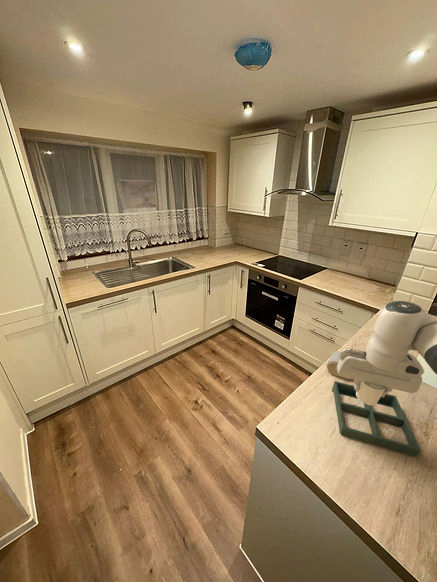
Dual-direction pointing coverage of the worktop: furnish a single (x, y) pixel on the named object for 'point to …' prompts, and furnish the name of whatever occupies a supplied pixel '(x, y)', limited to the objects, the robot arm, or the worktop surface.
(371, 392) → the shot glass
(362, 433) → the rack
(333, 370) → the ceramic mug
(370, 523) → the worktop surface
